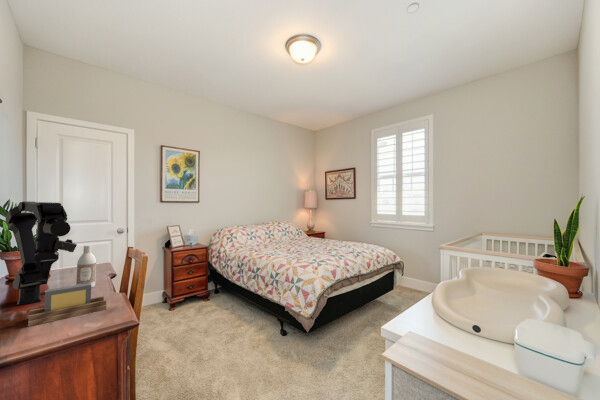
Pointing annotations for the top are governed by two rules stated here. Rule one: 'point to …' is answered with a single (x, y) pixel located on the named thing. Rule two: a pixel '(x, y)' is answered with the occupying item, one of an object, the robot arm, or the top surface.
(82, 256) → the bath foam
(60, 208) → the robot arm
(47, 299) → the photo frame
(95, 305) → the picture ledge
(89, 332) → the top surface
